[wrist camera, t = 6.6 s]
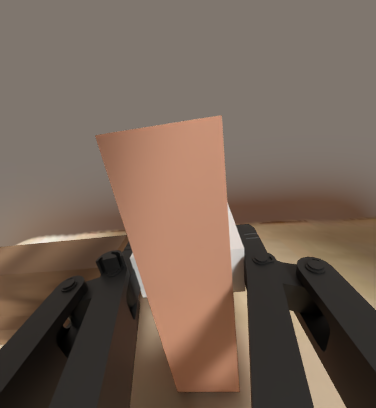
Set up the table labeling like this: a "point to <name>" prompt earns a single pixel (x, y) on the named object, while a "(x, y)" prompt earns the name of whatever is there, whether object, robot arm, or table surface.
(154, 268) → the rod
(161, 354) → the table surface
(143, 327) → the table surface
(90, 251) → the brown wooden block
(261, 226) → the table surface
